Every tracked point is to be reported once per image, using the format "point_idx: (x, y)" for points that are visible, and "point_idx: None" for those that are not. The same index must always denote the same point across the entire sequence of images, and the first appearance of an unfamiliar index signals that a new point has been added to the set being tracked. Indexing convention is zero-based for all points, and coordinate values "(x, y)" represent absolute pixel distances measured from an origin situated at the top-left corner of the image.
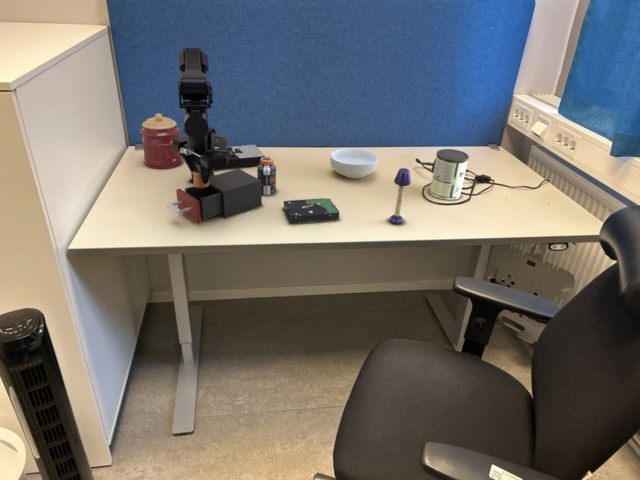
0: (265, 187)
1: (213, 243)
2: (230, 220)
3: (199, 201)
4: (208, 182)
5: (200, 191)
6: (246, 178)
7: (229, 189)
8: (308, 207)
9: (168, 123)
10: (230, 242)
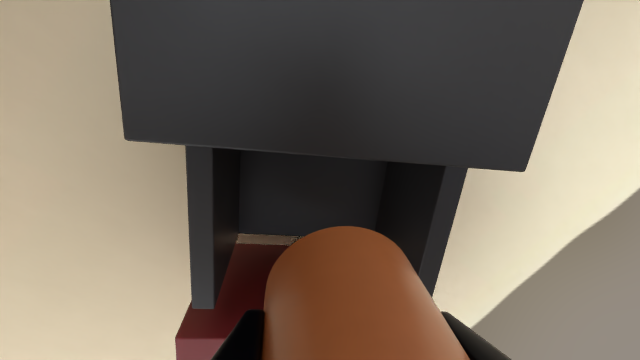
0: None
1: (518, 282)
2: None
3: (238, 166)
4: (419, 278)
5: (224, 174)
6: None
7: (542, 98)
8: None
9: None
10: (566, 237)
